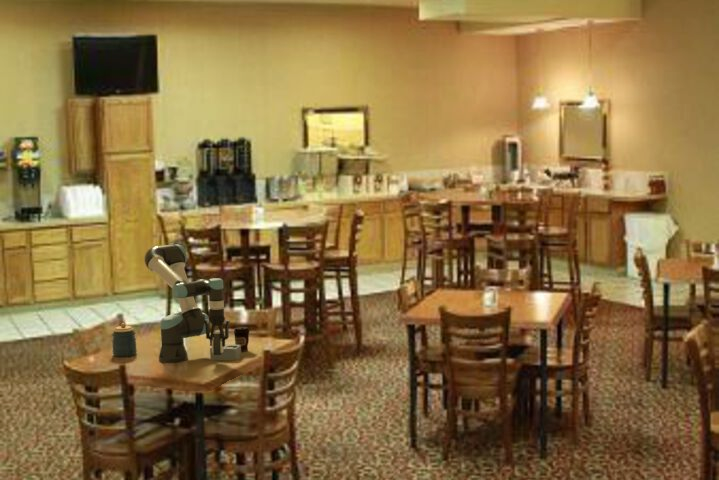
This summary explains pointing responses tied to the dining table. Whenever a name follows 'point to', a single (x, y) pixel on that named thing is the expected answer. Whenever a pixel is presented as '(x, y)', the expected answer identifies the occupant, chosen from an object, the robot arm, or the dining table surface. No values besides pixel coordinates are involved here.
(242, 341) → the coffee cup
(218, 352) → the plug
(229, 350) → the socket box
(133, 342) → the canister
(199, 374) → the dining table surface
